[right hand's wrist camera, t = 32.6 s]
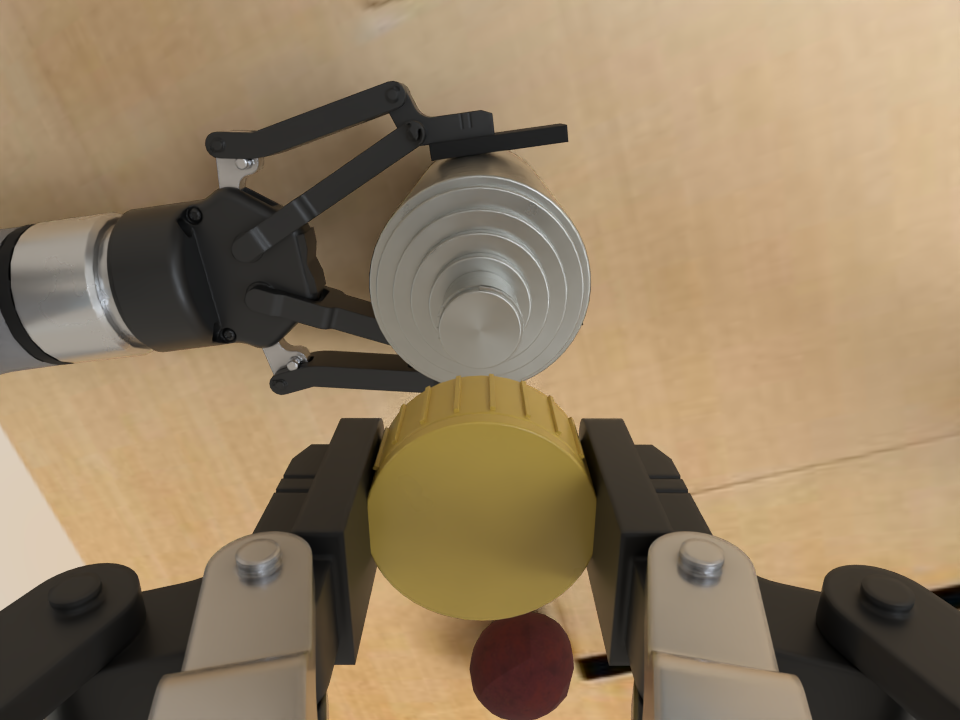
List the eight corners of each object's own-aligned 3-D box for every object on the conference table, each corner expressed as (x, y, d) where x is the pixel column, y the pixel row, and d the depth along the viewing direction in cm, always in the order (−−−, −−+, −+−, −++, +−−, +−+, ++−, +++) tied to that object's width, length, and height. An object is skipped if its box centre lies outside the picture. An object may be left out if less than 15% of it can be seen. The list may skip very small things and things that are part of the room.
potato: (451, 629, 51) (447, 707, 44) (525, 572, 49) (532, 645, 43) (515, 681, 53) (521, 762, 46) (589, 628, 51) (605, 706, 44)
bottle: (537, 292, 42) (588, 463, 22) (405, 275, 41) (337, 434, 22) (560, 155, 38) (642, 212, 19) (417, 135, 38) (352, 174, 19)
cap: (626, 482, 12) (651, 546, 10) (464, 586, 13) (462, 659, 11) (501, 328, 11) (506, 370, 9) (334, 452, 12) (309, 510, 10)
